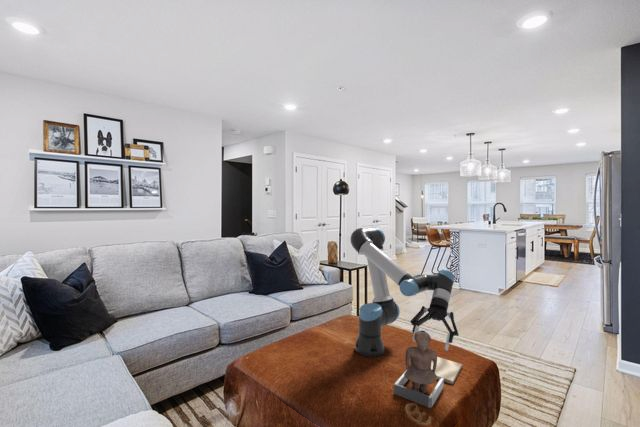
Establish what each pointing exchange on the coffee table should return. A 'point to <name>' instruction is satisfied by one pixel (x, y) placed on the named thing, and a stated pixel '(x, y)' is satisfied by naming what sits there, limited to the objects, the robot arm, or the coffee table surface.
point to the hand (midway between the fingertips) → (429, 344)
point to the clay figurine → (421, 362)
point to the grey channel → (416, 395)
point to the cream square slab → (446, 370)
